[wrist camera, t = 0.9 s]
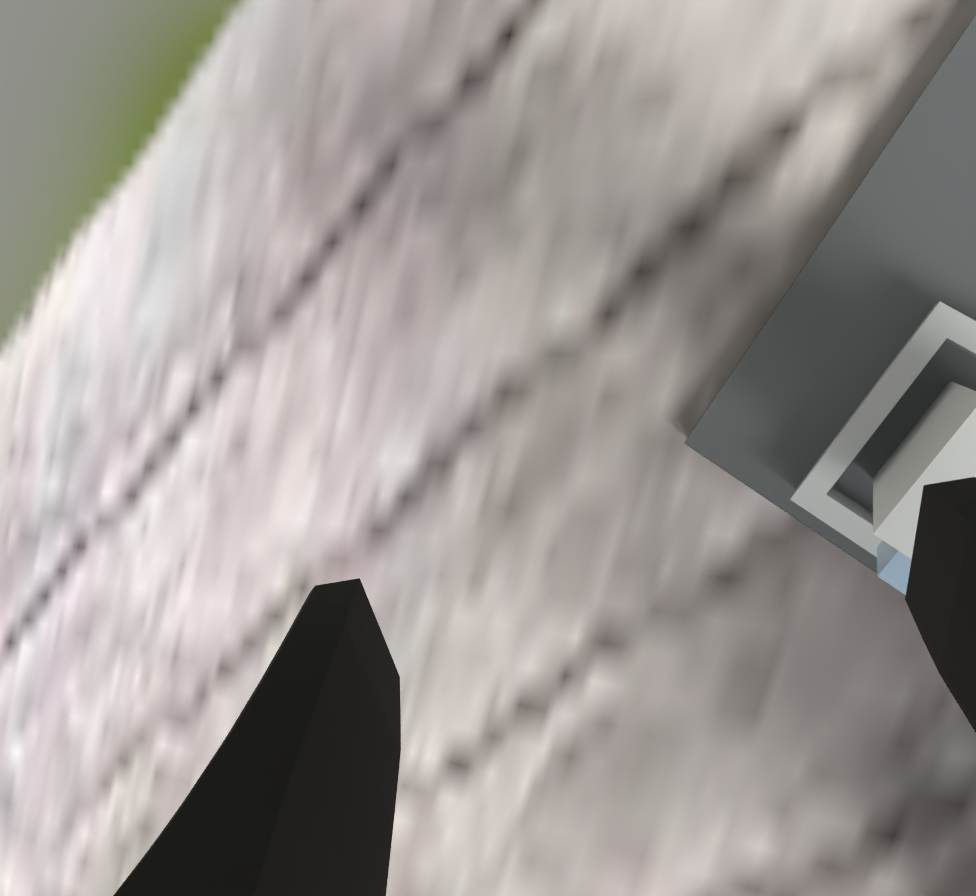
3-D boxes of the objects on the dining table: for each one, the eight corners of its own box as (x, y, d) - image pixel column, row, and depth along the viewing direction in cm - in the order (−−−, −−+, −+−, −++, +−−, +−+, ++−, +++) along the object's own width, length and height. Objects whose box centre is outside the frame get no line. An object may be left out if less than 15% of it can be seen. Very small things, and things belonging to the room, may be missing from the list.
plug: (1069, 450, 19) (1167, 499, 13) (966, 567, 20) (1009, 665, 14) (950, 380, 20) (986, 394, 14) (858, 496, 21) (852, 559, 15)
